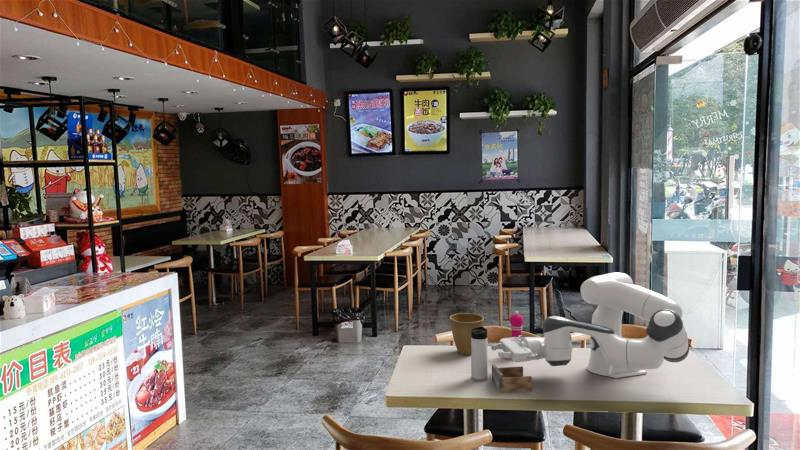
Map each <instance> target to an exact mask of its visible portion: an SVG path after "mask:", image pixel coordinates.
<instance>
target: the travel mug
mask: <svg viewBox="0 0 800 450" xmlns="http://www.w3.org/2000/svg"><path fill="white" fill-rule="evenodd" d="M470 358H471V361H470V362H471V364H470V366H471V367H470V368H471V369H470V370H471V371H470V372H471V373H470V374H471V375H470V377H471V380H472V381H474V382H480V383H481V382H486V381H487V380H488V375H489V373H488V329H487V328H485V327H484V326H483V327H477V328H473V329H472V330H471V355H470Z"/></svg>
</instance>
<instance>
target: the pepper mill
mask: <svg viewBox="0 0 800 450" xmlns="http://www.w3.org/2000/svg"><path fill="white" fill-rule="evenodd" d="M509 323H510V330H511V337H518V336H520V335H522V331H523V324H524V316H522V315H521V314H519V311H518V310H515V311H514V314H512V315H511V316H510V317H509Z"/></svg>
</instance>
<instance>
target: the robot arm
mask: <svg viewBox="0 0 800 450" xmlns="http://www.w3.org/2000/svg"><path fill="white" fill-rule="evenodd" d="M580 296H581V298H582V299H583V301H585V303H587V304H590V305H597V307H596V309H595V311H594V312H593V313H592V315H591V323H590V322H584V321H580V320H574V319H570V318H566V317H562V316H557V315H552V316H547V318H546V319H545V320H544V321H543V322H542V325H541V327H542V331H543V337H539V336H525V335H522V334H521V335H520V336H518V337H504V338H501V339H499V342H498V343H496V344H491V345H490V349H491V350H492V351H497V350H502V351H498V352H497V356H498V357H499V358H501V359H502V358H506V359H511V360H512V361H514V362H515V363H526V362H530V361H539V360H542V359H545V361H546V363H548V364H549V366H551V367H561V366H567V365H568V364H569V363H570V362H571V361H572V352H573V344H572V341H571V332H573V333H576V334H577V333H578V334H583V335H586V336H587V335H588V336H590V340H589V341H590V342H589V345H590V347H589V348H590V352H589V353H590V354H589V359H588V362H587V366H586V369H587V370H588V371H589V372H590V373H592V374H596V375H598V376H599V375H600V376H605V377H609V378H613V379H619V378H627V377H634V376H638V375H639V376H640V375H646V374H647V370H648V371H649V370H655V369H658V368H660V367H662V365H663V363H664V361H665V362H669V363H680V362H682V361H684V360H686V359H687V357H688V355H689V354H690V344H689V338H688V333H687V331H686V329H685V325H684V322H683V319H682V317H683V309H682V307H681V305H680V304H679V303H677V302H676V301H674V300H673V299H671V298H669V297H667V296H666V295H663V294H662V293H659V292H658V291H657V292H656V291H654V290H652V289H649V288H646V287H644V286H641V285H637V284H634V281H633V279H632V277H631V276H630V275H628V274H627V273H625V272H618V271H617V272H616V271H613V272H608V273H604V274H599V275H594V276H591V277H589V278H588V279H586V280H585V281H583V282H582V284H581V285H580ZM624 312H625V313H627V314H628V313H629V314H631V315H633V316H635V317H638V318H640V319H642V320H644V321H648V322H649V323H648V325H647V327H646V329H645V333H646V336H645V337H642V338H630V337H625V336H623V335H622V319H623V314H624Z"/></svg>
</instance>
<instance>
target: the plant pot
mask: <svg viewBox="0 0 800 450" xmlns="http://www.w3.org/2000/svg"><path fill="white" fill-rule="evenodd" d="M484 320H485V318H484V316H482V315H481V314H476V313H470V312H469V313H466V312H464V313H463V312H459V313H455V314H452V315H450V316H449V322H450V323H449V324H450V328H451V329H450V330H451V333H452V337H453V340H454V344H455V347H456V351H457V352H459V353H460V354H459V353H458V354H459V355H462V354H465V355H464V356H471V330H472V329H473V328H477V327H484V326H483V325H484Z"/></svg>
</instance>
